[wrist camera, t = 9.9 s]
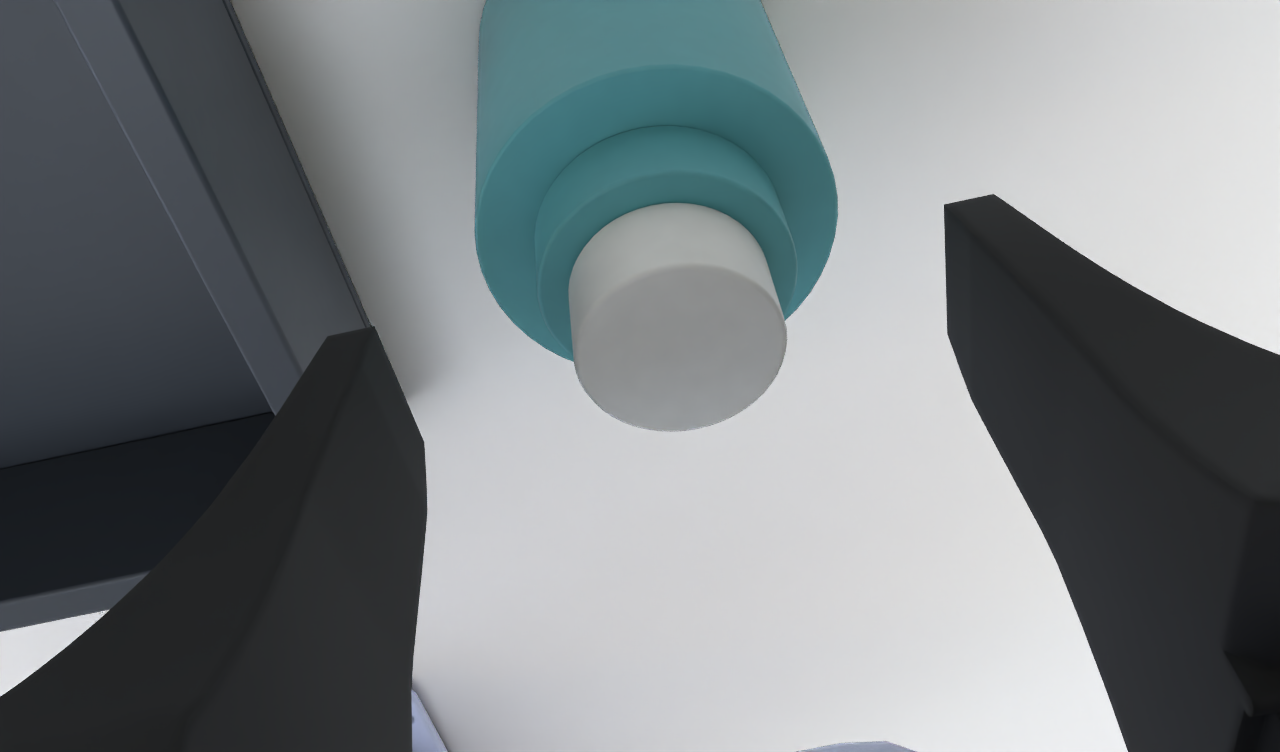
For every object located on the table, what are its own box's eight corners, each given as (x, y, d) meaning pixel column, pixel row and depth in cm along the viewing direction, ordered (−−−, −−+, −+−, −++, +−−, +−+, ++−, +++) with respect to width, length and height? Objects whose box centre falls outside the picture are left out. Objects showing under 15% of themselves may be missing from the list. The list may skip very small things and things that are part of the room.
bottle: (778, 141, 22) (896, 457, 16) (519, 197, 23) (530, 531, 16) (743, -129, 19) (874, 128, 13) (442, -60, 19) (416, 227, 13)
